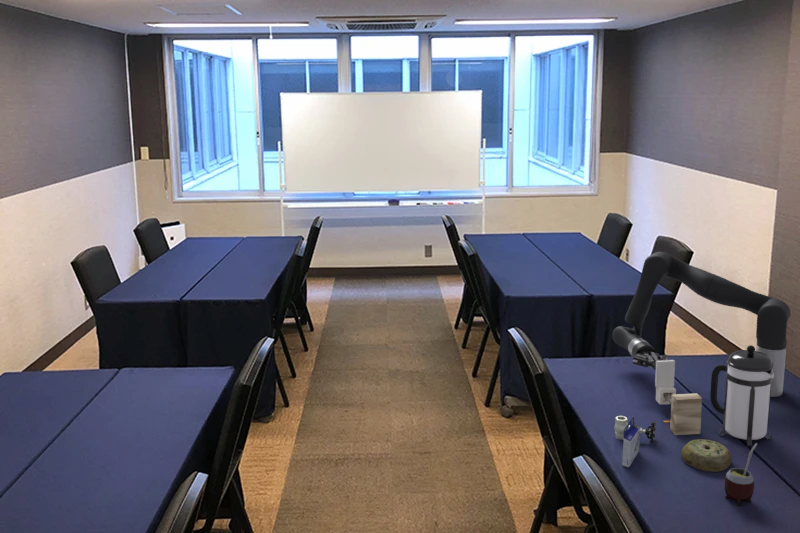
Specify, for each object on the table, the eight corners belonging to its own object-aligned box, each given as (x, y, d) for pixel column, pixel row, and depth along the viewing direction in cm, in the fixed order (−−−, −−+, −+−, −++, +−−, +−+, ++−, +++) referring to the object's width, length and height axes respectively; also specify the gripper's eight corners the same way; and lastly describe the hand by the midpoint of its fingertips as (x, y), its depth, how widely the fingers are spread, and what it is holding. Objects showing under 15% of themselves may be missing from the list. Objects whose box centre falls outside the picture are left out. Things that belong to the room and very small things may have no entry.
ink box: (629, 468, 211) (630, 431, 209) (621, 466, 212) (622, 430, 210) (640, 451, 221) (641, 416, 218) (632, 449, 222) (633, 414, 219)
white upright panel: (654, 399, 249) (656, 360, 245) (671, 398, 249) (673, 359, 246) (658, 404, 245) (660, 365, 242) (676, 403, 245) (678, 364, 242)
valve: (612, 441, 228) (652, 447, 223) (612, 421, 226) (653, 427, 221) (616, 431, 234) (655, 438, 229) (616, 412, 232) (656, 418, 227)
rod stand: (648, 404, 252) (649, 372, 249) (671, 403, 252) (672, 371, 249) (675, 435, 230) (676, 399, 227) (700, 433, 230) (702, 398, 227)
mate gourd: (724, 504, 191) (727, 452, 188) (723, 489, 198) (726, 439, 195) (755, 509, 188) (759, 456, 185) (753, 494, 195) (757, 442, 192)
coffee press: (767, 427, 232) (774, 338, 225) (774, 450, 217) (782, 356, 210) (708, 421, 238) (713, 334, 231) (711, 444, 223) (717, 351, 216)
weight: (739, 472, 206) (740, 456, 205) (691, 474, 207) (692, 458, 206) (719, 450, 220) (720, 434, 218) (674, 451, 220) (675, 436, 219)
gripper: (624, 342, 267) (640, 359, 250) (659, 340, 267) (678, 357, 250) (623, 361, 268) (640, 379, 252) (658, 359, 269) (677, 377, 252)
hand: (659, 368), depth 251 cm, fingers closed
